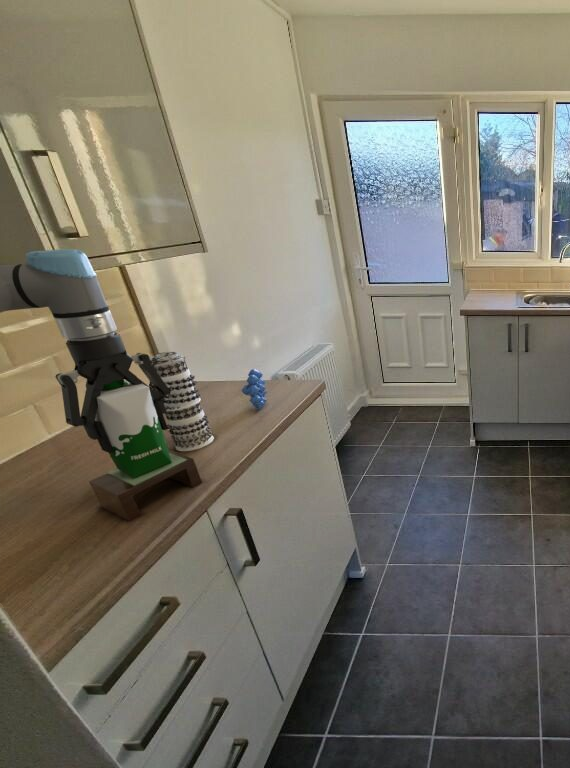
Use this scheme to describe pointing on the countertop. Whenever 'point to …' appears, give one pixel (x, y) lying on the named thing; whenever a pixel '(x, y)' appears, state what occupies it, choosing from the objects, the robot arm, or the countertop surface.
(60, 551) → the countertop surface
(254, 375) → the grapes
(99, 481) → the brown wooden stand
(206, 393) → the countertop surface
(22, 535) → the countertop surface
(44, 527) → the countertop surface
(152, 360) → the white patterned cylinder
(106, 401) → the milk carton
